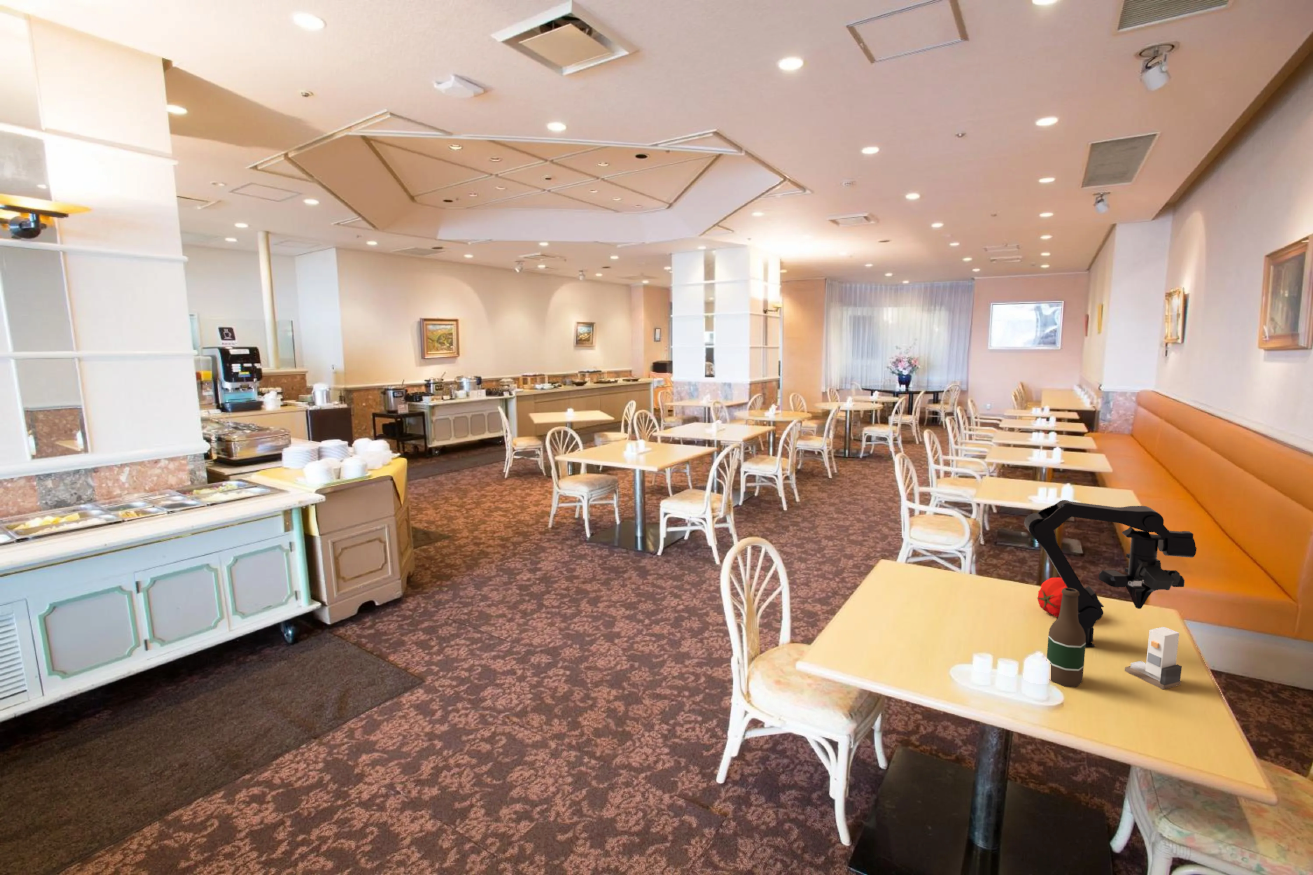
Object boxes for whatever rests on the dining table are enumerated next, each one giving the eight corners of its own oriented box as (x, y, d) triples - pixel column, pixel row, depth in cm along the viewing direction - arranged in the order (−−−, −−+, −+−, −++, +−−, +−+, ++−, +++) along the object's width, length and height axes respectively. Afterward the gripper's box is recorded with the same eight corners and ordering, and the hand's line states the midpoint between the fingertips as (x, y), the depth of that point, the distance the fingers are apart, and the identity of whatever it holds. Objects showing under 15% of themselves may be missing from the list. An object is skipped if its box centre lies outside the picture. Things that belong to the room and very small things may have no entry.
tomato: (1073, 618, 193) (1037, 624, 191) (1057, 579, 198) (1021, 584, 196) (1105, 612, 182) (1067, 617, 179) (1086, 570, 187) (1049, 575, 184)
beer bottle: (1083, 691, 148) (1091, 598, 145) (1045, 682, 152) (1052, 592, 149) (1081, 676, 155) (1088, 587, 151) (1045, 668, 159) (1051, 581, 155)
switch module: (1143, 671, 152) (1147, 630, 150) (1159, 667, 154) (1163, 626, 152) (1158, 678, 149) (1163, 636, 147) (1174, 674, 150) (1179, 632, 149)
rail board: (1124, 670, 157) (1126, 652, 156) (1141, 666, 158) (1143, 648, 158) (1163, 689, 148) (1165, 670, 147) (1180, 684, 150) (1182, 666, 149)
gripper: (1128, 564, 156) (1123, 621, 158) (1204, 563, 155) (1198, 621, 157) (1099, 549, 167) (1095, 603, 169) (1170, 549, 166) (1165, 603, 168)
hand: (1138, 608), depth 166 cm, fingers closed
